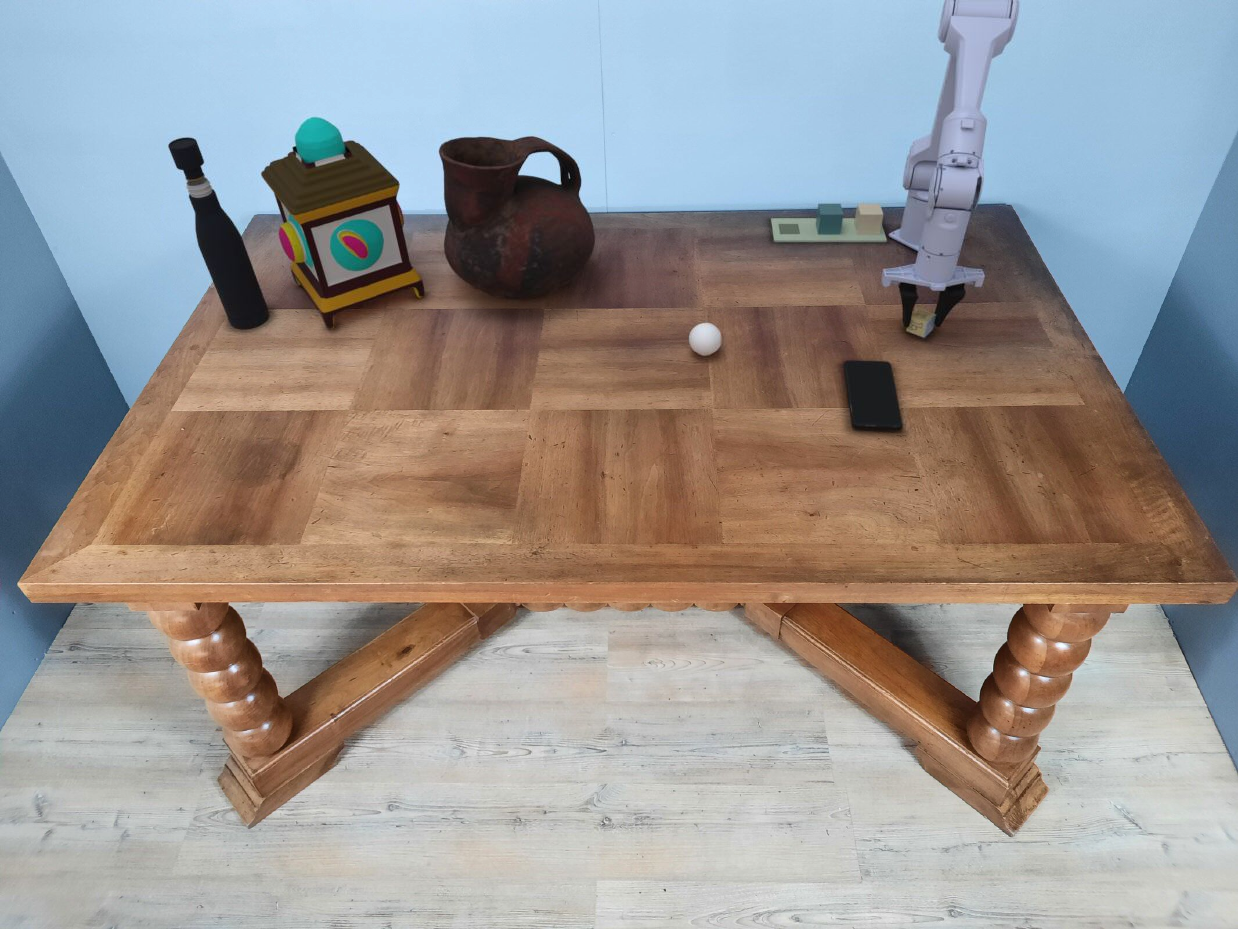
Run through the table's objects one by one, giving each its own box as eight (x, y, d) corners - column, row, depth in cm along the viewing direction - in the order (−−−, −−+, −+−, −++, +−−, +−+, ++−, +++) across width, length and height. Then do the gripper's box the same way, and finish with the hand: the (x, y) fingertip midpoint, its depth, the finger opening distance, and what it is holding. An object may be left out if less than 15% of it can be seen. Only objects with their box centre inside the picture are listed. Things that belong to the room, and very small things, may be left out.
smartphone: (852, 425, 121) (843, 359, 132) (851, 430, 122) (842, 363, 132) (903, 427, 120) (890, 360, 131) (902, 432, 121) (889, 365, 132)
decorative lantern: (392, 248, 161) (353, 81, 140) (437, 298, 149) (401, 123, 128) (285, 283, 153) (226, 112, 132) (323, 338, 141) (265, 160, 120)
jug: (618, 300, 146) (613, 156, 129) (472, 337, 140) (446, 191, 123) (569, 231, 163) (558, 95, 146) (437, 261, 157) (409, 123, 140)
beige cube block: (876, 223, 161) (879, 203, 159) (879, 234, 158) (883, 214, 156) (854, 223, 162) (857, 203, 159) (857, 234, 159) (860, 214, 156)
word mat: (879, 219, 163) (879, 217, 163) (886, 242, 157) (887, 239, 157) (770, 220, 164) (771, 217, 164) (774, 242, 158) (774, 239, 158)
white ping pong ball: (724, 346, 137) (726, 319, 133) (715, 364, 133) (717, 338, 130) (693, 340, 138) (694, 314, 134) (684, 358, 135) (685, 332, 131)
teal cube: (837, 223, 162) (840, 203, 159) (840, 234, 159) (843, 214, 156) (815, 223, 162) (818, 203, 159) (817, 234, 159) (820, 214, 156)
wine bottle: (258, 331, 143) (190, 153, 122) (222, 327, 144) (149, 151, 123) (276, 308, 148) (214, 134, 127) (242, 305, 149) (174, 131, 128)
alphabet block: (923, 339, 136) (928, 322, 134) (905, 331, 138) (909, 315, 136) (932, 330, 138) (937, 313, 136) (914, 322, 140) (918, 306, 137)
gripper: (894, 260, 125) (877, 338, 135) (998, 260, 124) (974, 339, 134) (886, 235, 130) (870, 311, 140) (986, 235, 129) (963, 312, 139)
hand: (920, 323), depth 137 cm, fingers closed on alphabet block, 4 cm apart
